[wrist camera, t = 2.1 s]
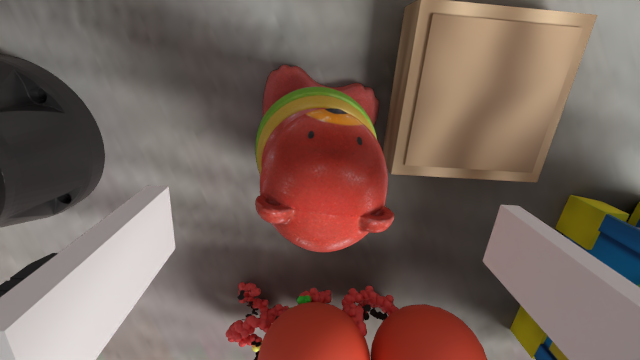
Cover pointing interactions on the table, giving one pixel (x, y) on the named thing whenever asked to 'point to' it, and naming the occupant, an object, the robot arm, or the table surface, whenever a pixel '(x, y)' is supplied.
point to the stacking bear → (320, 162)
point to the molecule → (351, 329)
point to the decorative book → (598, 240)
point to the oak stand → (480, 88)
